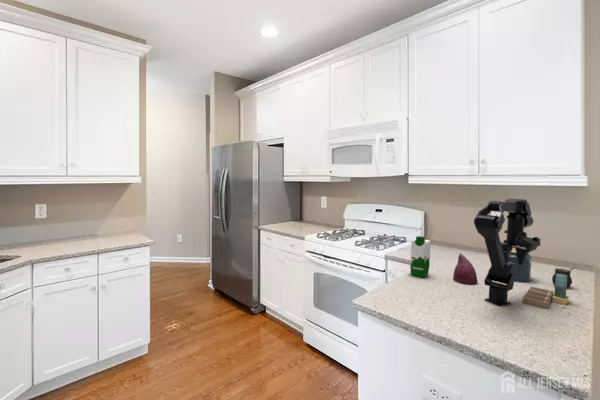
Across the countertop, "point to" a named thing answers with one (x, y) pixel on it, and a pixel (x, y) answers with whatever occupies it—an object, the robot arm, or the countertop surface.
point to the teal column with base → (560, 290)
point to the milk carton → (420, 257)
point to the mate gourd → (563, 271)
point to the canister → (520, 267)
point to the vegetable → (464, 271)
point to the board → (538, 297)
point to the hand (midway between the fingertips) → (512, 265)
